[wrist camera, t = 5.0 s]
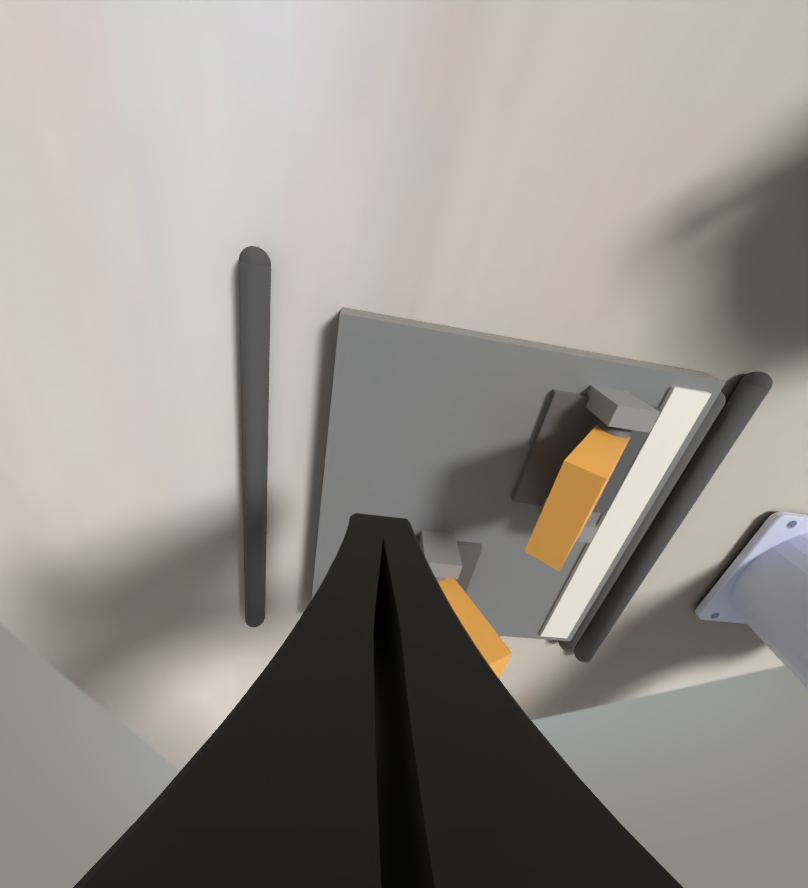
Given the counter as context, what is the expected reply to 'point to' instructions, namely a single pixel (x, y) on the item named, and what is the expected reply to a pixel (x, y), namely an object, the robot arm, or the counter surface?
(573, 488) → the breaker lever
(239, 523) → the counter surface
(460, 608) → the breaker lever
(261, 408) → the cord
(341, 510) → the breaker panel
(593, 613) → the dark long thin strip
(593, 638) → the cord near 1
